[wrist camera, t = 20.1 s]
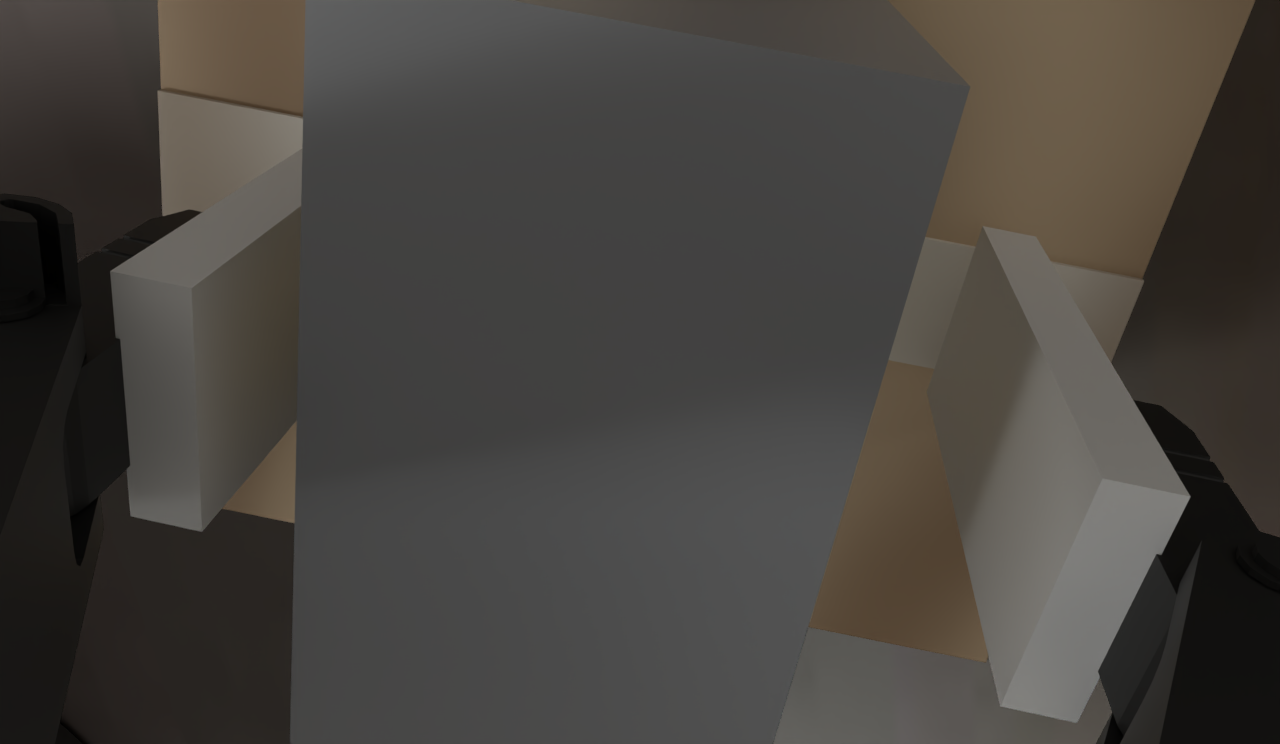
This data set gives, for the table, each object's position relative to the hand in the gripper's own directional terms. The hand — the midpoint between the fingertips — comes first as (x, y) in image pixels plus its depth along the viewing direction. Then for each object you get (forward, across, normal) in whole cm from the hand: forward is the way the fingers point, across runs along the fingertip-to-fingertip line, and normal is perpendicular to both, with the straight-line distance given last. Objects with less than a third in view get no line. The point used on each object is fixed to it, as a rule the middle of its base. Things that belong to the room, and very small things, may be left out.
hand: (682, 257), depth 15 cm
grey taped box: (0, -1, 0) cm, 1 cm away
